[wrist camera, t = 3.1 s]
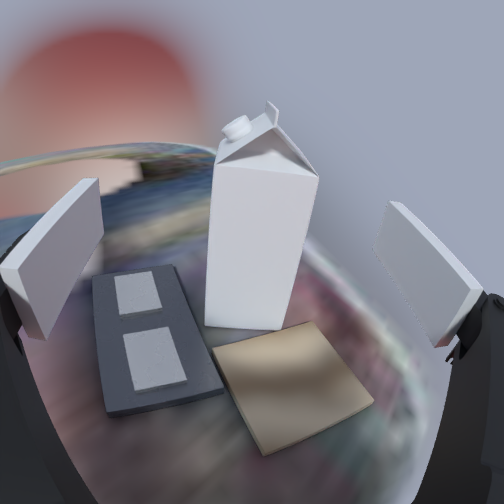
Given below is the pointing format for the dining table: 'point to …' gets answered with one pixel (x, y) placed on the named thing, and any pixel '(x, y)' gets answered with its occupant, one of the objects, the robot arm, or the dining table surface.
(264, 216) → the milk carton
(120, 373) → the label panel
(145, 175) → the dining table surface
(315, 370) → the coaster
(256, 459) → the dining table surface
